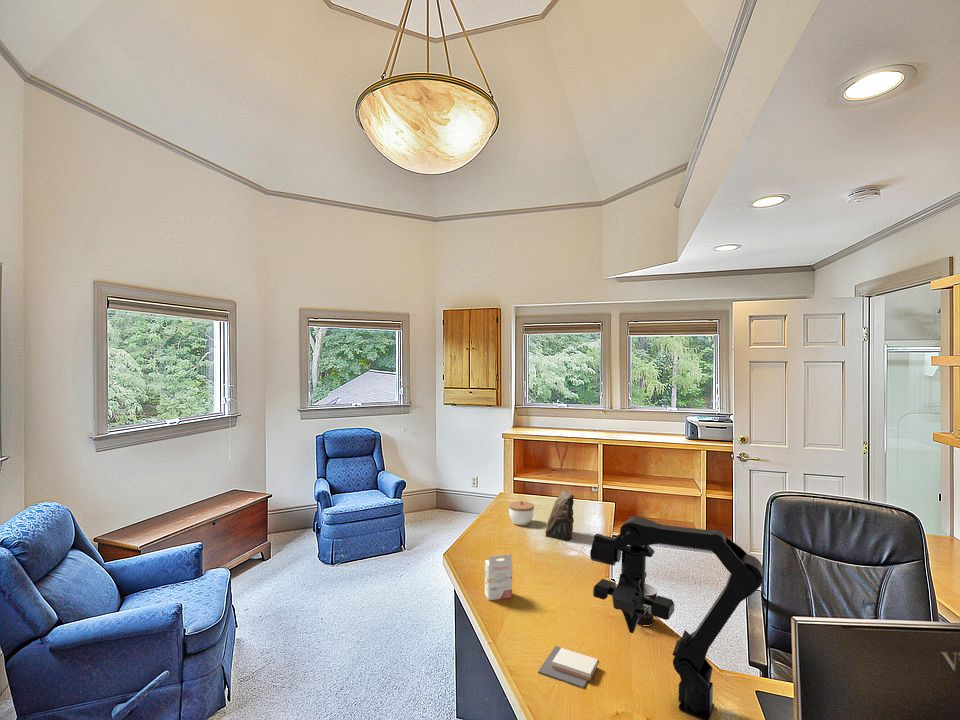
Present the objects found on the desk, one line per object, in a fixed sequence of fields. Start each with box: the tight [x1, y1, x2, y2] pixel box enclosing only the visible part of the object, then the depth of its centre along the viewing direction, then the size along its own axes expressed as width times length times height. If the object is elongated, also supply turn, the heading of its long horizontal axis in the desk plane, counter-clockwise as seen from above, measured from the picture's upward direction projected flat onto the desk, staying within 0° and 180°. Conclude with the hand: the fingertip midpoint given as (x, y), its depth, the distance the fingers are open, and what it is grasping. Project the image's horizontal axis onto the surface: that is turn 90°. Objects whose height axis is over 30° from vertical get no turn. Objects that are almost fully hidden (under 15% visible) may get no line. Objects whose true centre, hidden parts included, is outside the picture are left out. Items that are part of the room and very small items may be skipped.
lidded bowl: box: [508, 500, 535, 526], centre depth 243 cm, size 13×13×11 cm
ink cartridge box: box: [484, 553, 513, 601], centre depth 166 cm, size 9×5×15 cm, turn 105°
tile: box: [552, 647, 599, 682], centre depth 127 cm, size 2×7×10 cm
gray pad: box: [537, 645, 597, 689], centre depth 128 cm, size 12×13×1 cm
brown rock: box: [544, 489, 575, 542], centre depth 225 cm, size 13×13×20 cm
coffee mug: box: [638, 582, 658, 626], centre depth 152 cm, size 12×9×10 cm
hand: (631, 632), depth 121 cm, fingers closed
